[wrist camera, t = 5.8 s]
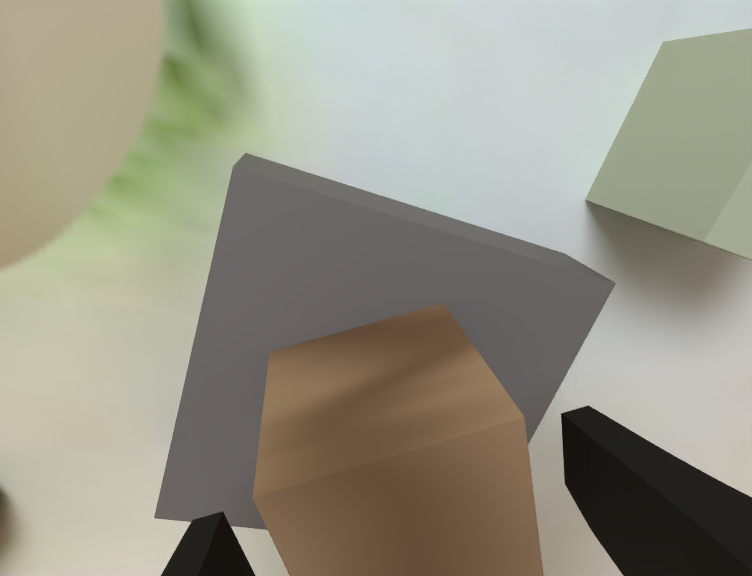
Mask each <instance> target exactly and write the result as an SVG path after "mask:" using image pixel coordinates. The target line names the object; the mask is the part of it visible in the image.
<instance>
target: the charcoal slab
mask: <svg viewBox="0 0 752 576" xmlns="http://www.w3.org/2000/svg"><path fill="white" fill-rule="evenodd" d="M615 284H616V283H614V282H612V281H611V280H609V279H607V278H606V277H604V276H602V275H600V274H599V273H597V272H595V271H594V270H592V269H590V268H588V267H587V266H585V265H583V264H582V263H580V262H578V261H576V260H575V259H573V258H571V257H570V256H568V255H566V254H564V253H561V252H558V251H555V250H551V249H548V248H545V247H542V246H539V245H536V244H532V243H529V242H526V241H523V240H520V239H517V238H513V237H510V236H507V235H504V234H501V233H498V232H494V231H491V230H488V229H485V228H482V227H478V226H475V225H472V224H469V223H466V222H463V221H459V220H456V219H453V218H450V217H447V216H444V215H440V214H437V213H434V212H431V211H428V210H425V209H421V208H418V207H415V206H412V205H409V204H406V203H402V202H399V201H396V200H393V199H390V198H387V197H383V196H380V195H377V194H374V193H371V192H368V191H364V190H361V189H358V188H355V187H352V186H349V185H345V184H342V183H339V182H336V181H333V180H330V179H326V178H323V177H320V176H317V175H314V174H311V173H307V172H304V171H301V170H298V169H295V168H291V167H288V166H285V165H282V164H279V163H276V162H272V161H269V160H266V159H263V158H260V157H257V156H253V155H250V154H247V153H245V154H244V155H243V156H242V157H241V158H240V160H239V161H238V162H237V163H236V164H235V165H234V166H233V169H232V174H231V178H230V183H229V187H228V192H227V196H226V200H225V205H224V209H223V214H222V218H221V223H220V227H219V232H218V236H217V241H216V245H215V249H214V254H213V258H212V263H211V267H210V272H209V276H208V281H207V285H206V290H205V294H204V298H203V303H202V307H201V312H200V316H199V321H198V325H197V330H196V334H195V339H194V343H193V347H192V352H191V356H190V361H189V365H188V370H187V374H186V379H185V383H184V388H183V392H182V397H181V401H180V405H179V410H178V414H177V419H176V423H175V428H174V432H173V437H172V441H171V446H170V450H169V454H168V459H167V463H166V468H165V472H164V477H163V481H162V486H161V490H160V495H159V499H158V503H157V508H156V512H155V517H154V518H158V519H168V520H178V521H188V522H192V521H193V520H194V519H197V518H201V517H204V516H208V515H211V514H215V513H218V512H222V511H223V512H224V514H225V516H226V518H227V520H228V522H229V524H230V526H237V527H247V528H257V529H267V527H266V525H265V523H264V521H263V519H262V517H261V515H260V512H259V510H258V508H257V506H256V504H255V502H254V500H253V490H254V481H255V473H256V464H257V455H258V447H259V438H260V430H261V421H262V412H263V404H264V395H265V387H266V378H267V369H268V361H269V352H272V351H275V350H279V349H282V348H286V347H289V346H293V345H296V344H300V343H303V342H307V341H311V340H314V339H318V338H321V337H325V336H328V335H332V334H335V333H339V332H342V331H346V330H349V329H353V328H356V327H360V326H364V325H367V324H371V323H374V322H378V321H381V320H385V319H388V318H392V317H395V316H399V315H402V314H406V313H410V312H413V311H417V310H420V309H424V308H427V307H431V306H434V305H438V304H441V303H444V304H445V306H446V307H447V309H448V310H449V311H450V313H451V314H452V316H453V317H454V318H455V320H456V321H457V323H458V324H459V325H460V327H461V328H462V330H463V331H464V333H465V334H466V335H467V337H468V338H469V340H470V341H471V342H472V344H473V345H474V347H475V348H476V349H477V351H478V352H479V354H480V355H481V356H482V358H483V359H484V361H485V362H486V364H487V365H488V366H489V368H490V369H491V371H492V372H493V373H494V375H495V376H496V378H497V379H498V380H499V382H500V383H501V385H502V386H503V388H504V389H505V390H506V392H507V393H508V395H509V396H510V397H511V399H512V400H513V402H514V403H515V404H516V406H517V407H518V409H519V410H520V411H521V413H522V414H523V416H524V419H525V428H526V436H527V444H529V442H530V440H531V438H532V436H533V434H534V433H535V431H536V429H537V427H538V425H539V423H540V422H541V420H542V418H543V416H544V414H545V412H546V411H547V409H548V407H549V405H550V403H551V401H552V400H553V398H554V396H555V394H556V392H557V390H558V389H559V387H560V385H561V383H562V381H563V379H564V377H565V376H566V374H567V372H568V370H569V368H570V366H571V365H572V363H573V361H574V359H575V357H576V355H577V354H578V352H579V350H580V348H581V346H582V344H583V343H584V341H585V339H586V337H587V335H588V333H589V332H590V330H591V328H592V326H593V324H594V322H595V321H596V319H597V317H598V315H599V313H600V311H601V310H602V308H603V306H604V304H605V302H606V300H607V299H608V297H609V295H610V293H611V291H612V289H613V287H614V286H615ZM267 530H268V529H267Z"/></svg>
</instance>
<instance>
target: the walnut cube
mask: <svg viewBox="0 0 752 576" xmlns="http://www.w3.org/2000/svg"><path fill="white" fill-rule="evenodd" d="M253 500H254V502H255V504H256V506H257V508H258V510H259V512H260V515H261V517H262V519H263V521H264V523H265V525H266V527H267V529H268V531H269V533H270V535H271V537H272V540H273V542H274V544H275V546H276V548H277V550H278V552H279V554H280V556H281V558H282V560H283V562H284V565H285V567H286V569H287V571H288V573H289V575H290V576H543V569H542V561H541V552H540V544H539V536H538V527H537V519H536V511H535V502H534V494H533V486H532V477H531V469H530V461H529V452H528V444H527V436H526V428H525V419H524V416H523V414H522V413H521V411H520V410H519V409H518V407H517V406H516V404H515V403H514V402H513V400H512V399H511V397H510V396H509V395H508V393H507V392H506V390H505V389H504V388H503V386H502V385H501V383H500V382H499V380H498V379H497V378H496V376H495V375H494V373H493V372H492V371H491V369H490V368H489V366H488V365H487V364H486V362H485V361H484V359H483V358H482V356H481V355H480V354H479V352H478V351H477V349H476V348H475V347H474V345H473V344H472V342H471V341H470V340H469V338H468V337H467V335H466V334H465V333H464V331H463V330H462V328H461V327H460V325H459V324H458V323H457V321H456V320H455V318H454V317H453V316H452V314H451V313H450V311H449V310H448V309H447V307H446V306H445V304H444V303H441V304H438V305H434V306H431V307H427V308H424V309H420V310H417V311H413V312H410V313H406V314H402V315H399V316H395V317H392V318H388V319H385V320H381V321H378V322H374V323H371V324H367V325H364V326H360V327H356V328H353V329H349V330H346V331H342V332H339V333H335V334H332V335H328V336H325V337H321V338H318V339H314V340H311V341H307V342H303V343H300V344H296V345H293V346H289V347H286V348H282V349H279V350H275V351H272V352H269V361H268V369H267V378H266V387H265V395H264V404H263V412H262V421H261V430H260V438H259V447H258V455H257V464H256V473H255V481H254V490H253Z"/></svg>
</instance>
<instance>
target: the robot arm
mask: <svg viewBox="0 0 752 576" xmlns="http://www.w3.org/2000/svg"><path fill="white" fill-rule="evenodd" d="M561 420H562V438H563V457H564V475H565V484H566V486H567V488H568V490H569V492H570V494H571V495H572V497H573V499H574V501H575V503H576V504H577V506H578V508H579V510H580V511H581V513H582V515H583V517H584V518H585V520H586V522H587V523H588V525H589V527H590V529H591V530H592V532H593V533H594V535H595V536H596V538H597V539H598V540H599V542H600V543H601V545H602V546H603V548H604V549H605V550H606V552H607V553H608V555H609V556H610V557H611V559H612V560H613V562H614V563H615V564H616V566H617V567H618V569H619V570H620V571H621V573H622V574H623V576H752V497H750V496H748V495H746V494H744V493H742V492H740V491H738V490H736V489H734V488H732V487H730V486H728V485H726V484H724V483H723V482H721V481H719V480H717V479H715V478H713V477H711V476H709V475H708V474H706V473H704V472H702V471H700V470H698V469H697V468H695V467H693V466H691V465H689V464H688V463H686V462H684V461H682V460H680V459H679V458H677V457H675V456H673V455H672V454H670V453H668V452H666V451H665V450H663V449H661V448H659V447H658V446H656V445H654V444H653V443H651V442H649V441H647V440H646V439H644V438H642V437H641V436H639V435H637V434H636V433H634V432H632V431H630V430H629V429H627V428H625V427H624V426H622V425H620V424H619V423H617V422H615V421H614V420H612V419H610V418H609V417H607V416H605V415H604V414H602V413H600V412H599V411H597V410H595V409H593V408H592V407H590V406H586V407H582V408H579V409H575V410H572V411H568V412H565V413H561ZM161 576H255V574H254V572H253V570H252V568H251V566H250V564H249V562H248V560H247V558H246V556H245V554H244V552H243V550H242V548H241V546H240V544H239V542H238V540H237V538H236V536H235V534H234V532H233V530H232V528H231V526H230V524H229V522H228V520H227V518H226V516H225V514H224V512H223V511H222V512H218V513H215V514H211V515H208V516H204V517H201V518H197V519H194V520H193V521H192V522H191V524H190V525H189V527H188V529H187V531H186V532H185V534H184V536H183V537H182V539H181V541H180V543H179V544H178V546H177V548H176V550H175V552H174V553H173V555H172V557H171V559H170V560H169V562H168V564H167V566H166V568H165V569H164V571H163V573H162V575H161Z"/></svg>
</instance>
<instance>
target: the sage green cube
mask: <svg viewBox="0 0 752 576" xmlns="http://www.w3.org/2000/svg"><path fill="white" fill-rule="evenodd" d="M585 200H587V201H590V202H592V203H595V204H598V205H601V206H603V207H606V208H609V209H612V210H614V211H617V212H620V213H622V214H625V215H628V216H631V217H633V218H636V219H639V220H641V221H644V222H647V223H650V224H652V225H655V226H658V227H660V228H663V229H666V230H669V231H671V232H674V233H677V234H679V235H682V236H685V237H688V238H690V239H693V240H696V241H698V242H701V243H704V244H707V245H710V246H712V247H715V248H718V249H721V250H724V251H726V252H729V253H732V254H735V255H738V256H740V257H743V258H746V259H749V260H751V261H752V28H751V29H745V30H738V31H732V32H725V33H718V34H712V35H705V36H699V37H692V38H686V39H679V40H673V41H666V42H663V43H662V45H661V47H660V49H659V51H658V53H657V55H656V57H655V59H654V61H653V63H652V65H651V67H650V69H649V71H648V73H647V76H646V78H645V80H644V82H643V84H642V86H641V88H640V90H639V92H638V94H637V96H636V98H635V100H634V102H633V104H632V106H631V108H630V110H629V112H628V114H627V116H626V118H625V120H624V122H623V124H622V126H621V128H620V130H619V132H618V134H617V136H616V138H615V140H614V142H613V144H612V146H611V148H610V150H609V152H608V154H607V156H606V158H605V160H604V162H603V164H602V166H601V169H600V171H599V173H598V175H597V177H596V179H595V181H594V183H593V185H592V187H591V189H590V191H589V193H588V195H587V197H586V199H585Z"/></svg>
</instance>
